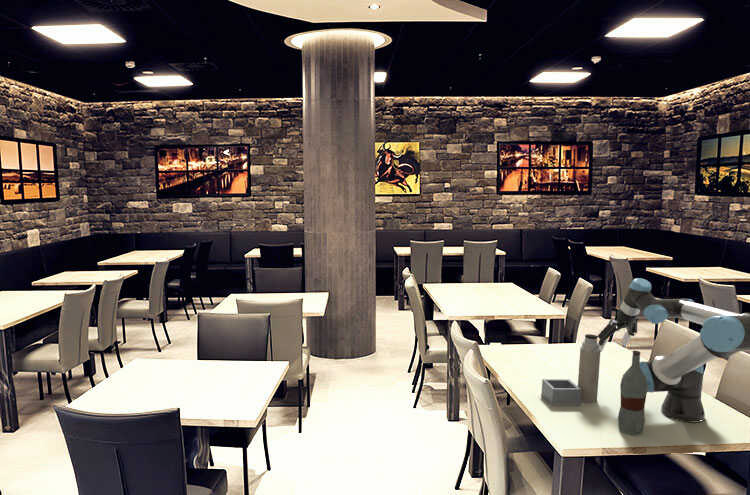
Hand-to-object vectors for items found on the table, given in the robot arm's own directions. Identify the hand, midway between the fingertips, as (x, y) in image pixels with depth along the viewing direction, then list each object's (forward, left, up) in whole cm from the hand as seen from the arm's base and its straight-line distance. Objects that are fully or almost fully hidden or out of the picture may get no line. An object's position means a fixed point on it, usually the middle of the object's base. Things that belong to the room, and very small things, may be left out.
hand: (611, 347), depth 242 cm
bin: (-12, +27, -20) cm, 36 cm away
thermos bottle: (-11, +15, -20) cm, 27 cm away
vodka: (-41, +12, -20) cm, 47 cm away
